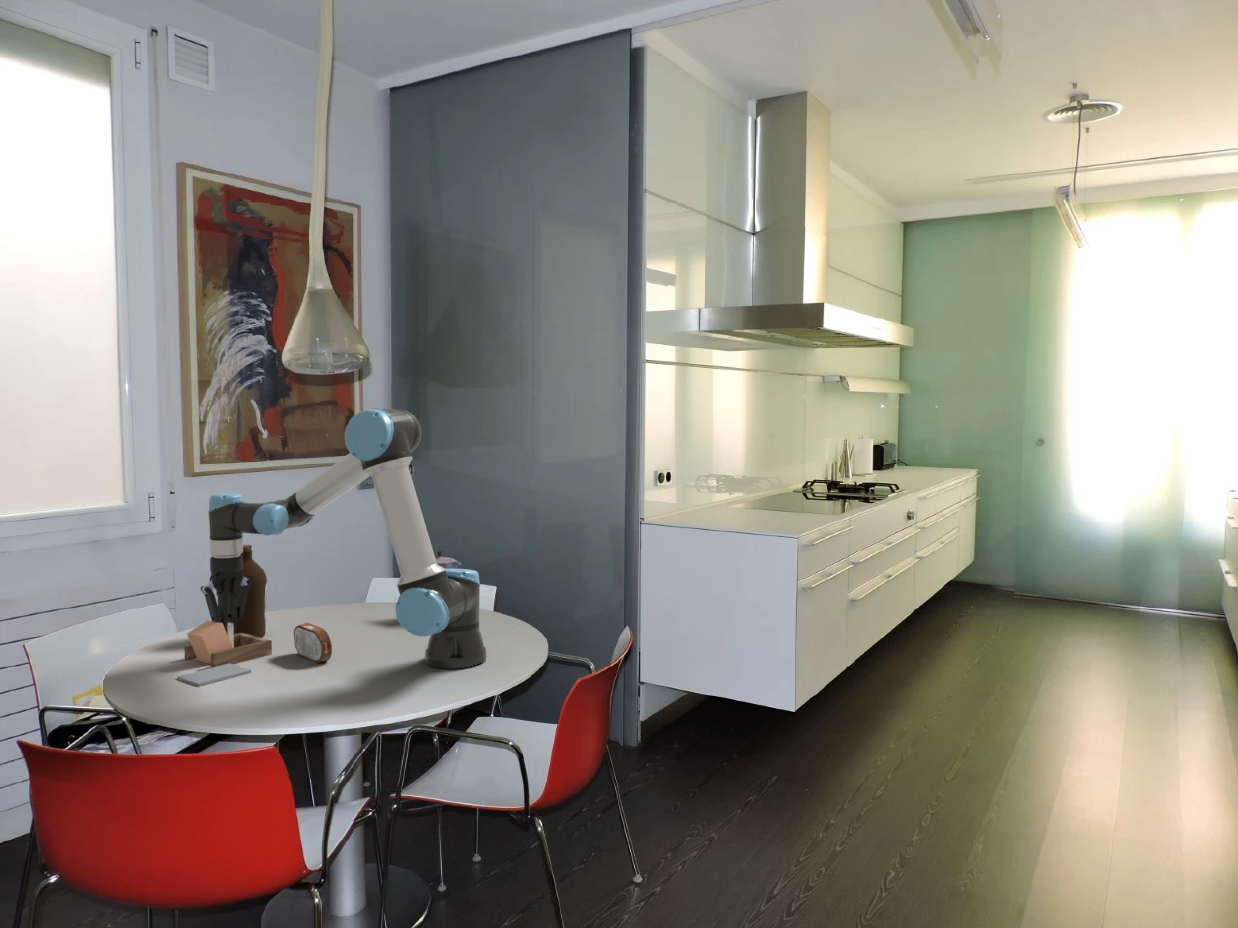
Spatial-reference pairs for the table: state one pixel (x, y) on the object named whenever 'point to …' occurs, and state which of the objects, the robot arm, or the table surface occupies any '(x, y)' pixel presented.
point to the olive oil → (253, 597)
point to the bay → (236, 650)
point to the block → (209, 640)
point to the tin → (312, 642)
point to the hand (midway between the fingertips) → (228, 647)
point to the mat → (213, 674)
